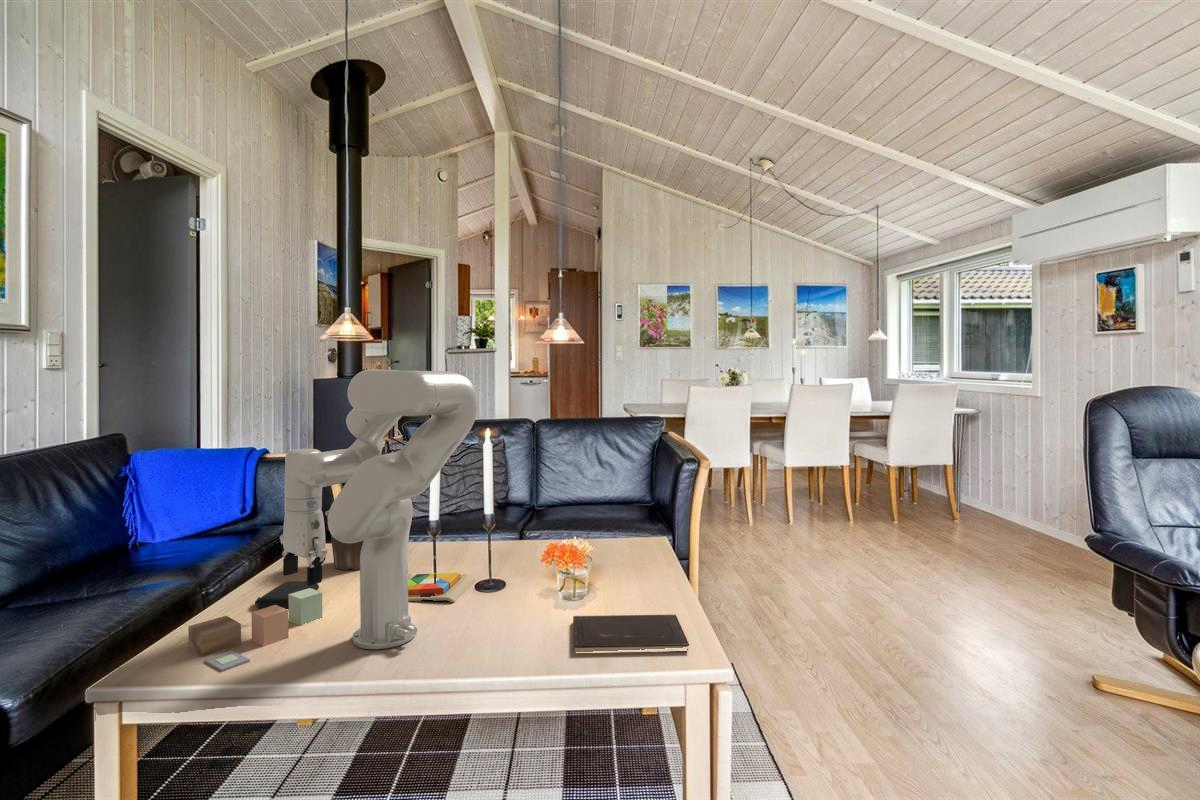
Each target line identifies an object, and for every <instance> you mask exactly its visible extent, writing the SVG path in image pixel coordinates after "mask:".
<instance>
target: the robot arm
mask: <svg viewBox="0 0 1200 800" xmlns="http://www.w3.org/2000/svg"><path fill="white" fill-rule="evenodd" d="M347 399H348V402H349V404H350V406H351V407H352V409H351V410H350V411H349V413H348V414H347V416H346V419H345V422H346V427H347V429H348V432H350V433H351V434H352V435H353V436H354V437H355V438H356V439H355V441H354V442H353V443H352V444H351V445H350V446H349V447H348V448H344V449H343V448H342V449H335V450H327V451H321V450H319V449H317V448H306V447H305V448H294V449H293V448H292V449H291V450H288V451H287V452H286V454H285V459H284V463H285V464H284V520H283V531H282V533H283V534H281V535H279V540H280V544H281V545H280V549H281V551H282V553H281V556H282V561H283V565H282V575H283V576H284V577H285V576H291V575H294V574H297V573H298V572H299V557H301V558H305V559H306V562H307V564H308V567H306V581H307V585H309V586H310V585H313V584H319V583H322V582H323V566H324V564H325V561H326V557H327V553H328V549H327V547H326V529H325V527H326V526H325V519H324V514H323V513H324V512H323V510H322V508H323V488H326V487H330V486H335V485H339V484H344V483H345V484H344V485H343V487H342V488H341V489H340V491H339V493H338V494H337V496H336V497H335V498H334V500H333V502H332V503H331V506H330V508H329V514H328V519H327V526H328V531H329V532H330V535H331V534H332V536H333V537H334V538H335V539H336V540H338V541H340V542H343V543H356V542H360V541H363V540H364V542H363V545H362V548H361V554H360V569H359V596H360V597H359V598H360V599H359V607H360V608H359V609H360V610H359V614H360V615H359V616H360V618H359V619H360V623H359V625H360V627H359V628H358V629H356V631H354V632H353V634H352V640H351V641H352V644H353V646H354V645H355V647H358V648H360V649H365V650H385V649H391V648H395V647H398V646H401V645H403V644H406V643H408V642H410V641H412V639H414V637H415V636H416V635H417V632H418V628H417V626H416V625H415V624H414V623H412V621H411V620H412V617H411V616H410V615H409V602H408V574H409V537H410V532H411V531H410V530H411V526H412V519H413V514H414V513H413V511H414V510H413V509H414V508H413V501H412V498H415V497H417V496H419V495H421V494H422V493H424V492H425V491H426V490H427V489H428V487H429V486H430V485H431V484H432V482H433V480H434V479H435V478H436V476H437V475H438V474H439V472H440V471H441V470H442V469H443V467H444V465H445V464H446V463H447V462H448V460H449V458H450V457H451V456H452V455H453V454H454V452H455V451H456V450H457V448H459V446H460V445H461V444H462V442H463V441H464V440H465V438H466V437H467V436H468V434H469V433H470V431H471V430H472V428H473V425H474V424H475V421H476V418H477V414H478V413H477V412H478V396H477V392H476V388H475V387H474V385H473V383H472V382H471V381H470V379H469V378H467V377H465V376H464V375H463V374H461V373H457V372H452V371H445V370H444V371H443V370H441V371H440V370H397V369H374V368H373V369H371V368H370V369H363V370H362V371H359V372H358V373H356V374H355V375H354V376H353V377H352V379H351V380H350V382H349V384H348V387H347ZM421 416H431V417H430V418H429V419H427V420H426V421H424V423H422V424H421V425H420V426H419V427H418V428H416V430H415V431H414V432H413V434H412V435H411V437H410V438H409V440H408V441H407V442H406V443H405V444H404V445H403V447H401V449H399V450H397V451H394V452H390V453H385V454H382V452H383V448H384V437H385V436H386V435H387V433H389V431H390V430H391V429H392V428H393V427H394V425H395V424H396V423H397V422H398V421H399V420H401V418H402V417H421ZM314 557H315V558H314ZM313 558H314V559H313Z"/></svg>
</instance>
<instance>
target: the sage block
mask: <svg viewBox="0 0 1200 800" xmlns="http://www.w3.org/2000/svg"><path fill="white" fill-rule="evenodd" d="M288 597H289V610H288V621H289V620H290V621H289V622H291V621H292V622H291V623H294V622H295V623H294V624H296V623H297V624H296V625H298V624H300V625H299V626H304V625H306V624H305V623H307V624H310V623H312V622H311V621H313V622H315V621H314V620H316V619H319V620H321V619H320V618H322V619H323V592H322V591H319V590H314V589H311V588H308V589H305V590H302V591H298V592H295V593H291V594H288ZM316 621H317V620H316ZM309 622H310V623H309ZM303 624H304V625H303Z"/></svg>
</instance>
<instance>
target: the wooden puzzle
mask: <svg viewBox="0 0 1200 800" xmlns="http://www.w3.org/2000/svg"><path fill="white" fill-rule="evenodd" d="M433 574H434V573H417V574H415V575H414V574H412V573H408V601H415V602H422V601H421V600H423V599H428V600H433V602H436V601H437V602H438V601H448V602H450V603H452V602H455V601H456V600H457V599H458V598H459V597H460V596H462V594H463V593H464V592H465V591H466V590H467V589H468V588H469V587H470V586H471V585H472V584H473V583H474V582H475V583H476V577H475V576H474V575H473V574H461V573H460V572H445V573H442V572H441V573H436V574H437V578H436V584H434V575H433ZM475 583H474V584H475ZM474 584H473V585H474ZM473 585H472V586H473ZM472 586H471V587H472ZM471 587H470V588H471ZM470 588H469V589H470ZM469 589H468V590H469ZM468 590H467V591H468ZM467 591H466V592H467ZM466 592H465V593H466ZM423 593H436V594H435V596H431V597H420V595H421V594H423ZM465 593H464V594H465ZM464 594H463V595H464ZM462 597H463V596H462ZM455 603H456V602H455Z"/></svg>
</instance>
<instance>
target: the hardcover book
mask: <svg viewBox="0 0 1200 800" xmlns="http://www.w3.org/2000/svg"><path fill="white" fill-rule="evenodd" d="M572 617H573V618H572V621H573V623H572V624H573V625H572V627H573V633H572V634H573V649H574V653H575V652H593V651H618V650H640V649H641V650H645V649H665V648H683V647H688V648H689V647H690V643H689V641H688V638H687V636H686V635H685V631H684V630H683V627H682V625H681V623H680V621H679V619H678V616H677V615H676V614H675V613H674V614H631V615H630V614H627V615H626V614H625V615H623V614H621V615H618V614H616V615H614V614H613V615H573V616H572Z"/></svg>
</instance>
